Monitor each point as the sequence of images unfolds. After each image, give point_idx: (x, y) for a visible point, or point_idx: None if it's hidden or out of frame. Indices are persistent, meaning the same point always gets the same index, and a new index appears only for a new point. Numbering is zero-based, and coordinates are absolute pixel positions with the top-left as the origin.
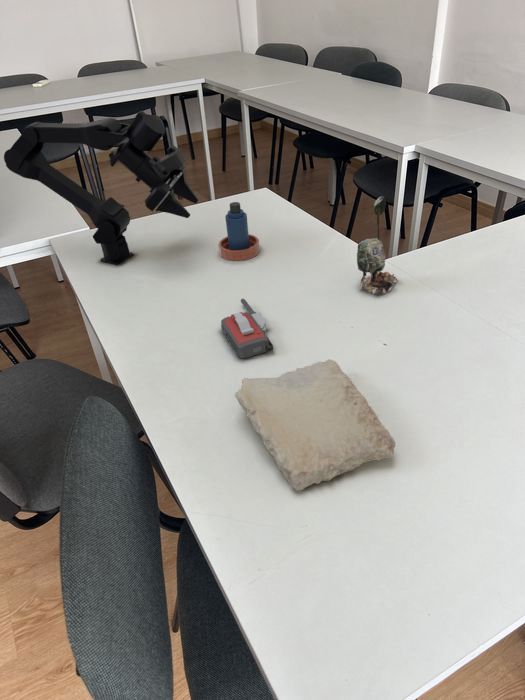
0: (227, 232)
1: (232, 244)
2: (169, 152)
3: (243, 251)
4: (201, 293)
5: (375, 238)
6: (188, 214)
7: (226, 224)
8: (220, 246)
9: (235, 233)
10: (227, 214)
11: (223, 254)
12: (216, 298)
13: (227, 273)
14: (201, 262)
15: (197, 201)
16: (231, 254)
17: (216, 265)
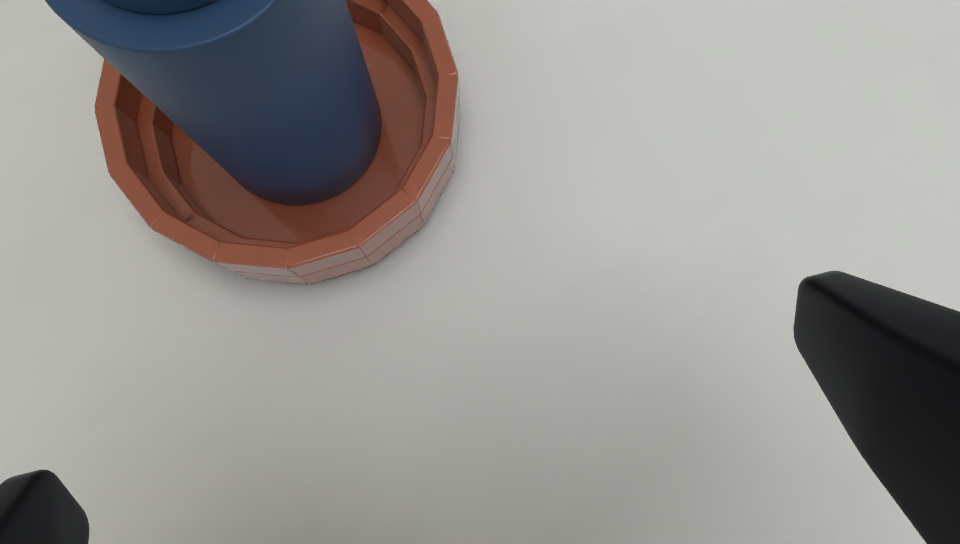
0: (307, 110)
1: (365, 102)
2: None
3: (424, 3)
4: (930, 166)
5: None
6: (867, 288)
7: (279, 70)
8: (389, 214)
9: (345, 1)
10: (149, 35)
11: (434, 191)
12: (950, 45)
13: (622, 105)
14: (508, 372)
15: (56, 482)
16: (457, 103)
17: (527, 232)
